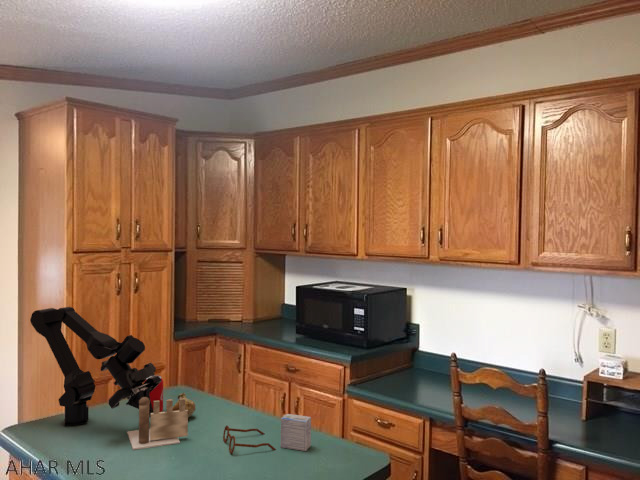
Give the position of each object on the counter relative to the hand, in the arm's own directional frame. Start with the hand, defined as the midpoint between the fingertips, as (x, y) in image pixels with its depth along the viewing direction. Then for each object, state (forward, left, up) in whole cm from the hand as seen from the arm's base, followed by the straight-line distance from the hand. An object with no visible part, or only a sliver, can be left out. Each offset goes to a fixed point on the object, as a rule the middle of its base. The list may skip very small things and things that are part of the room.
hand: (152, 413), depth 165 cm
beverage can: (+4, +20, -7) cm, 22 cm away
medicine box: (+37, -25, -7) cm, 45 cm away
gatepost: (-3, -5, -7) cm, 9 cm away
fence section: (+4, -6, -6) cm, 9 cm away
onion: (+12, +11, -7) cm, 18 cm away
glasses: (+25, -18, -7) cm, 31 cm away
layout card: (0, -2, -7) cm, 7 cm away
